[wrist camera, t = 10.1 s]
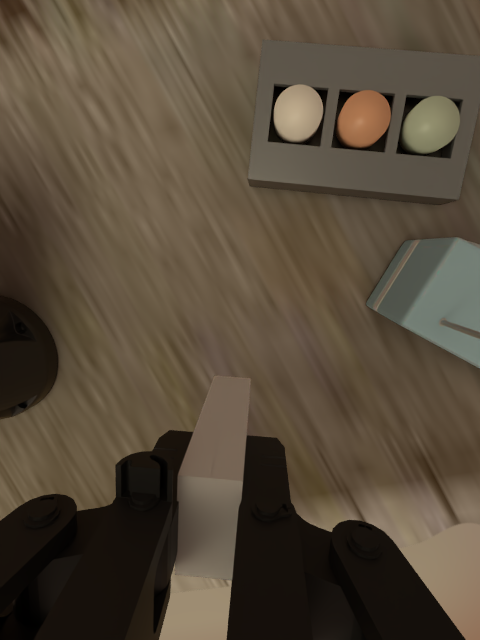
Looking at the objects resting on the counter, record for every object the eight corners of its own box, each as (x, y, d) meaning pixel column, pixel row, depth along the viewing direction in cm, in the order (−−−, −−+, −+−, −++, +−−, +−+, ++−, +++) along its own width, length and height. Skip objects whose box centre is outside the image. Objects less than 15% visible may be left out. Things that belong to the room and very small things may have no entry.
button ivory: (271, 143, 35) (271, 135, 33) (276, 94, 34) (277, 82, 32) (315, 147, 35) (319, 139, 33) (322, 98, 34) (326, 86, 32)
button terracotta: (332, 148, 35) (336, 141, 33) (339, 99, 34) (344, 87, 32) (377, 153, 35) (385, 145, 32) (386, 103, 34) (395, 92, 31)
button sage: (394, 154, 35) (403, 147, 32) (403, 104, 34) (413, 93, 31) (440, 158, 34) (453, 151, 32) (450, 109, 33) (465, 97, 31)
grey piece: (249, 186, 39) (247, 178, 35) (263, 62, 36) (262, 39, 32) (438, 205, 37) (458, 199, 34) (465, 78, 35) (490, 56, 31)
